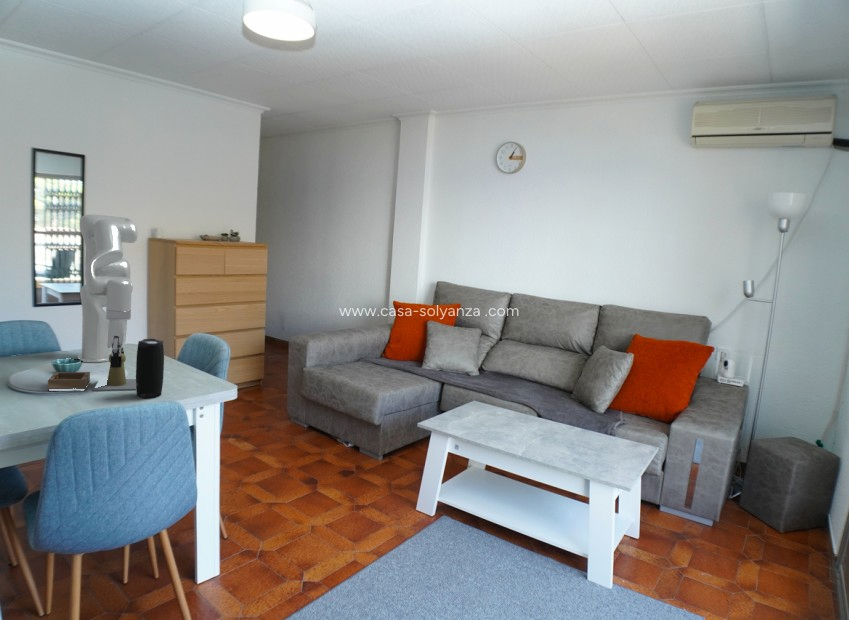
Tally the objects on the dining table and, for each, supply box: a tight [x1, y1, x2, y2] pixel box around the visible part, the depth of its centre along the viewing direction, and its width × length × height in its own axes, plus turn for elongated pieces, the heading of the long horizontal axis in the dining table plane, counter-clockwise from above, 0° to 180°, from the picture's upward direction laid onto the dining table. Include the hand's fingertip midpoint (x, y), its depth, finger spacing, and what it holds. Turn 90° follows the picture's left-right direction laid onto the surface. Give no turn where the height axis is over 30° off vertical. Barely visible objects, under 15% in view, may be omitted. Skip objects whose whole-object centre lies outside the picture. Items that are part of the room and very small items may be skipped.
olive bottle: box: [107, 353, 127, 386], centre depth 191 cm, size 6×6×11 cm
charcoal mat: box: [92, 378, 136, 392], centre depth 192 cm, size 13×13×1 cm
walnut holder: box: [47, 371, 91, 390], centre depth 185 cm, size 10×10×4 cm
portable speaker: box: [135, 338, 165, 399], centre depth 183 cm, size 8×9×19 cm
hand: (117, 364), depth 191 cm, fingers open, 6 cm apart
